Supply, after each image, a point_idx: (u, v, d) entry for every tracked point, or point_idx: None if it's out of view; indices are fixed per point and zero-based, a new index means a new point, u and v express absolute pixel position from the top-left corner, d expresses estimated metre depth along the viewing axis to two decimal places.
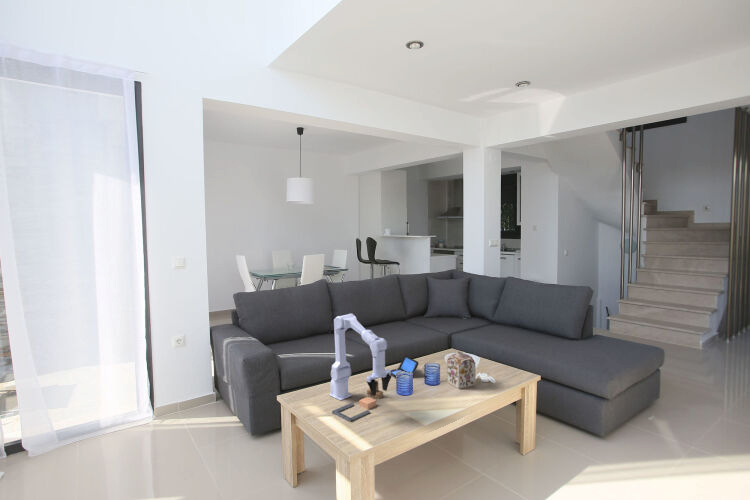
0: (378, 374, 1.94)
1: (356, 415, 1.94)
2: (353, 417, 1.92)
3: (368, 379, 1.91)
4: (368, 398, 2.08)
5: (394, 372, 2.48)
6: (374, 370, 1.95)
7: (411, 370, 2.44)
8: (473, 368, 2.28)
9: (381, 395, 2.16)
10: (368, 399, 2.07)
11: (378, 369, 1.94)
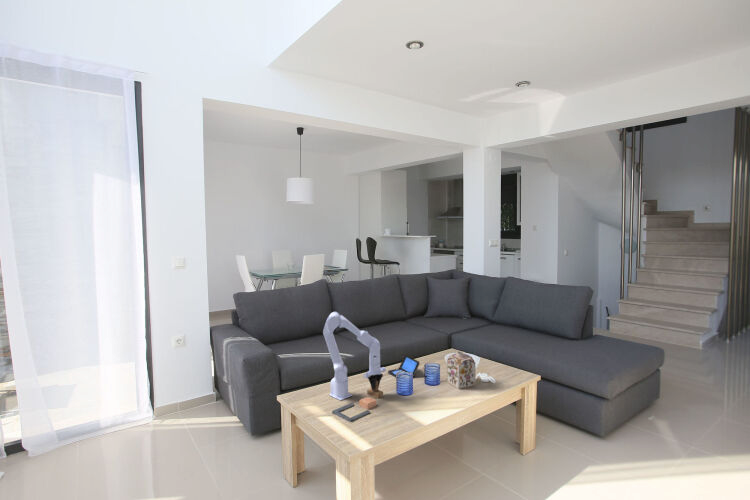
0: (374, 371, 2.14)
1: (356, 415, 1.94)
2: (353, 417, 1.92)
3: (365, 376, 2.12)
4: (368, 398, 2.08)
5: (395, 372, 2.48)
6: (370, 368, 2.15)
7: (412, 370, 2.44)
8: (473, 368, 2.28)
9: (381, 395, 2.16)
10: (368, 399, 2.07)
11: (374, 367, 2.14)
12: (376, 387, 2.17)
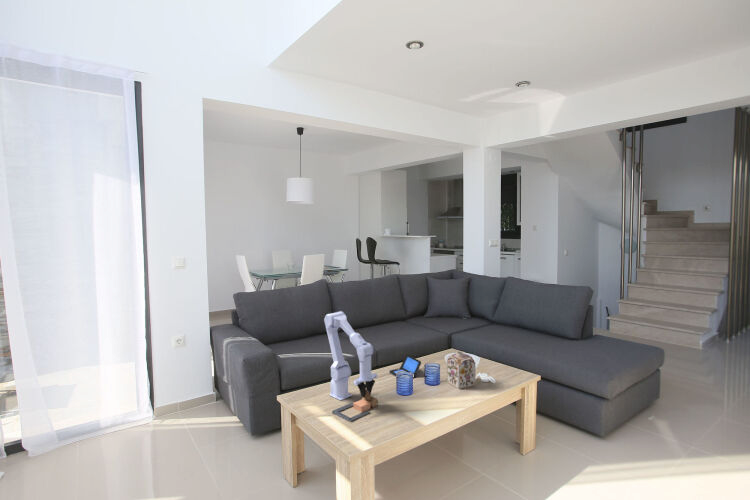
0: (364, 378, 2.01)
1: (356, 415, 1.94)
2: (353, 417, 1.92)
3: (355, 383, 1.99)
4: (362, 401, 2.05)
5: (396, 372, 2.48)
6: (361, 374, 2.02)
7: (414, 369, 2.45)
8: (473, 368, 2.28)
9: (376, 402, 2.04)
10: (362, 402, 2.04)
11: (364, 373, 2.01)
12: (368, 397, 2.04)
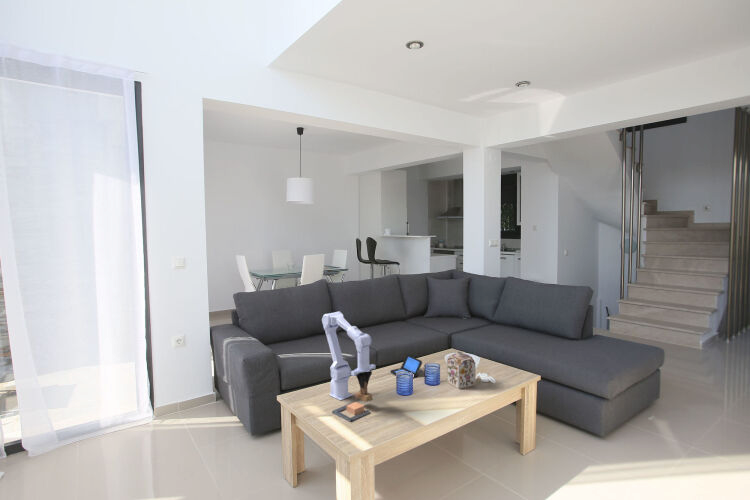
0: (362, 368, 2.01)
1: (356, 415, 1.94)
2: (353, 417, 1.92)
3: (352, 373, 1.98)
4: (356, 403, 2.02)
5: (397, 371, 2.49)
6: (359, 365, 2.01)
7: (415, 369, 2.46)
8: (473, 368, 2.28)
9: (370, 398, 2.02)
10: (355, 405, 2.01)
11: (362, 364, 2.00)
12: (365, 390, 2.03)
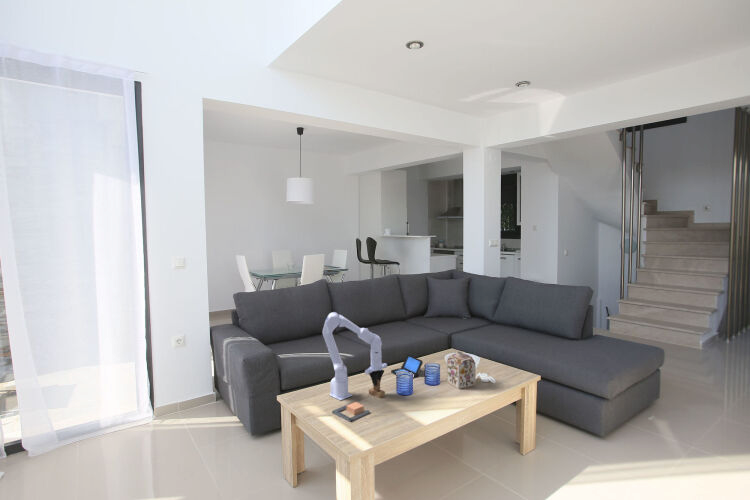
0: (375, 367, 2.15)
1: (356, 415, 1.94)
2: (353, 417, 1.92)
3: (366, 372, 2.13)
4: (356, 403, 2.02)
5: (398, 371, 2.49)
6: (372, 364, 2.16)
7: (415, 369, 2.46)
8: (473, 368, 2.28)
9: (383, 395, 2.16)
10: (355, 405, 2.01)
11: (375, 363, 2.15)
12: (378, 387, 2.17)
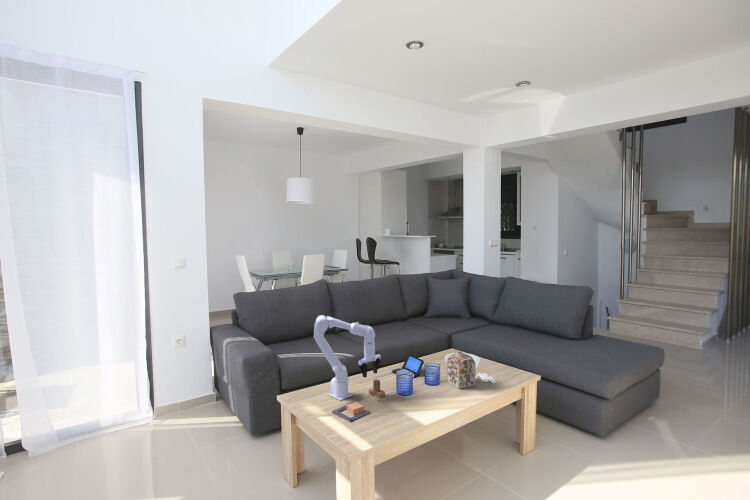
0: (368, 358, 2.15)
1: (356, 415, 1.94)
2: (353, 417, 1.92)
3: (359, 362, 2.13)
4: (356, 403, 2.02)
5: None
6: (365, 355, 2.16)
7: (416, 369, 2.46)
8: (473, 368, 2.28)
9: (383, 395, 2.16)
10: (356, 405, 2.01)
11: (368, 354, 2.15)
12: (378, 387, 2.17)
